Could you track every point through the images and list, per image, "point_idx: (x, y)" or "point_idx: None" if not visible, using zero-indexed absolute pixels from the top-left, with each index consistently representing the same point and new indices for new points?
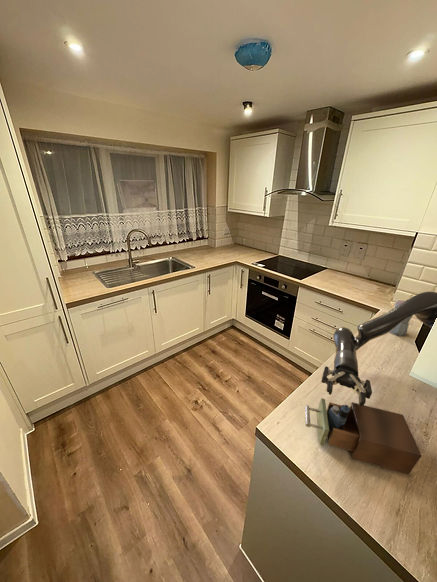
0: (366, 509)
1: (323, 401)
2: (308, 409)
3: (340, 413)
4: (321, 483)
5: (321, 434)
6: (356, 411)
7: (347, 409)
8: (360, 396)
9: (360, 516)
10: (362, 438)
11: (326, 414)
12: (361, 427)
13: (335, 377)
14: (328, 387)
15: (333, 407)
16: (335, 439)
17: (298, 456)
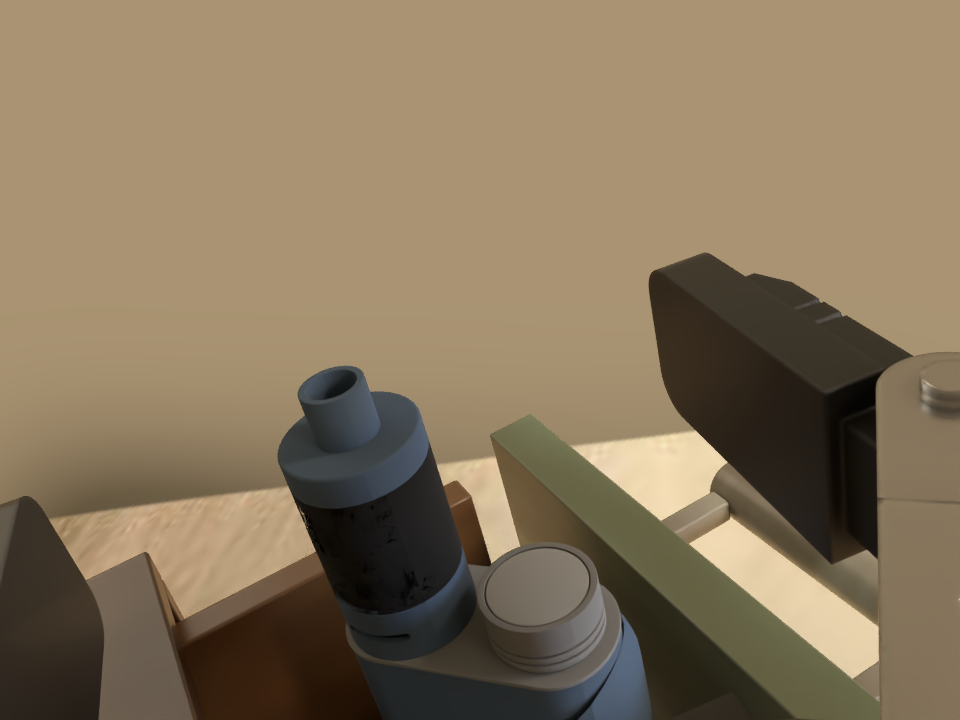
0: (168, 568)
1: (830, 706)
2: None
3: (451, 624)
4: (442, 476)
5: None
6: None
7: (314, 439)
8: (15, 626)
9: (203, 519)
10: (129, 564)
11: (624, 550)
12: (128, 690)
13: (938, 499)
14: (778, 292)
15: (574, 565)
16: None
17: (652, 470)
